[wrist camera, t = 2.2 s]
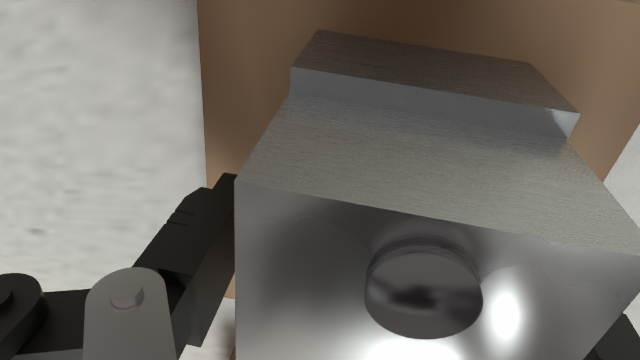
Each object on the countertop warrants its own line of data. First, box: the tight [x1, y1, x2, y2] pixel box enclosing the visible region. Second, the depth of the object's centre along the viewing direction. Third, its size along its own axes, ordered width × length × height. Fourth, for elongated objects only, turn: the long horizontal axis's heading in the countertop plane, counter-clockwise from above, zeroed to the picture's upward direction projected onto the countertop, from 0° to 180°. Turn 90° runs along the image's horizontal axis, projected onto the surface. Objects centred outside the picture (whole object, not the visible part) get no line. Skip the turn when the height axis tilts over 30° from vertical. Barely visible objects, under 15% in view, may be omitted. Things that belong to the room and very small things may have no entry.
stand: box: [197, 0, 640, 299], centre depth 13 cm, size 11×12×3 cm
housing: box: [234, 30, 640, 360], centre depth 9 cm, size 5×9×6 cm, turn 173°
